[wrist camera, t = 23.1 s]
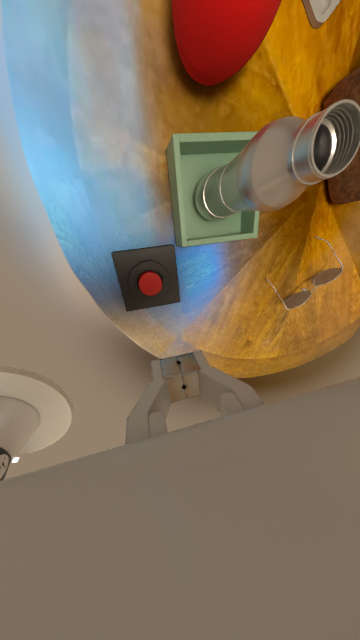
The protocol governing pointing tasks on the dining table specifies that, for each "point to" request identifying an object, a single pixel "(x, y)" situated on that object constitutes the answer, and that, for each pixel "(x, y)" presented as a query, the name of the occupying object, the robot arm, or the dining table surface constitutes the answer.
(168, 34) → the dining table surface
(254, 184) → the metal bottle
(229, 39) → the tomato
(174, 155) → the tray
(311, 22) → the phone holder
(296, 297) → the sunglasses
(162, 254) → the block
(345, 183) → the bread
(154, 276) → the button
